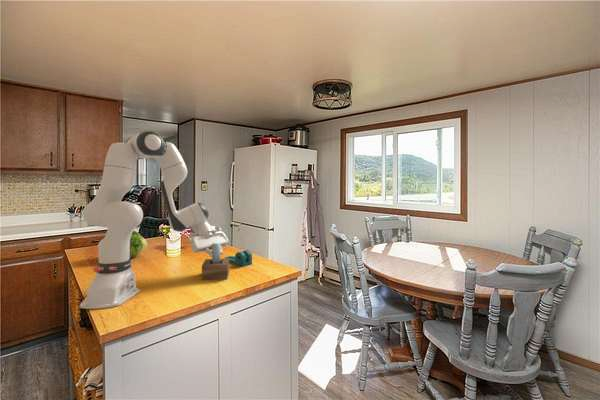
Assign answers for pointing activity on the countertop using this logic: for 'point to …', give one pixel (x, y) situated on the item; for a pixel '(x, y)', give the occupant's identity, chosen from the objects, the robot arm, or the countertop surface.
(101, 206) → the robot arm
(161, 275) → the countertop surface
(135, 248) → the lettuce
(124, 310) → the countertop surface
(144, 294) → the countertop surface
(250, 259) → the teal elongated piece
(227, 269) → the brown toaster
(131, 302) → the countertop surface
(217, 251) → the blue dowel
